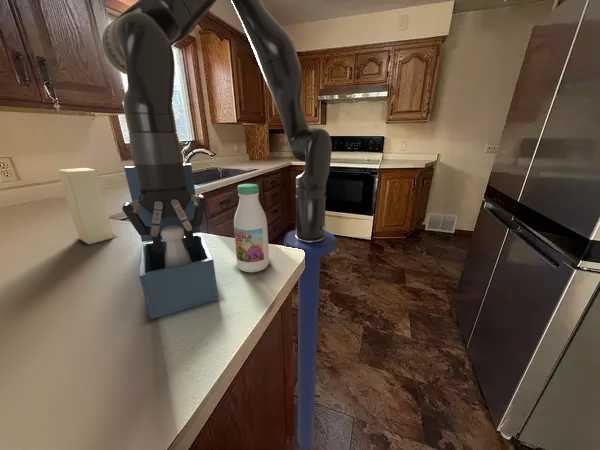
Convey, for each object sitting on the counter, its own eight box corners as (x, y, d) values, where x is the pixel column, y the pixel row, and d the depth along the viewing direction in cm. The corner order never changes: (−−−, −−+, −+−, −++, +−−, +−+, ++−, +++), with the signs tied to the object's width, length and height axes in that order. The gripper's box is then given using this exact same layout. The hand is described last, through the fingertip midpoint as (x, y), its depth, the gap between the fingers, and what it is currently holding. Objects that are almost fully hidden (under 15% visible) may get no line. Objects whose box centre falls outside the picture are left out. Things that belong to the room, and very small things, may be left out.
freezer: (218, 299, 48) (213, 259, 45) (150, 319, 42) (139, 276, 39) (205, 266, 60) (200, 233, 57) (151, 279, 54) (142, 243, 51)
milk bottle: (248, 255, 65) (242, 181, 58) (274, 260, 63) (271, 183, 56) (231, 269, 58) (222, 187, 52) (259, 275, 56) (254, 189, 49)
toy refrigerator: (117, 236, 77) (99, 169, 70) (88, 244, 71) (65, 172, 64) (106, 231, 81) (88, 167, 74) (78, 238, 75) (56, 169, 68)
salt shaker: (183, 275, 54) (173, 220, 50) (203, 280, 53) (194, 224, 48) (160, 289, 49) (147, 230, 45) (182, 296, 47) (170, 234, 43)
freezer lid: (191, 164, 50) (188, 160, 55) (123, 167, 45) (126, 163, 49) (200, 232, 56) (197, 224, 61) (141, 242, 51) (142, 232, 55)
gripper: (199, 157, 49) (209, 236, 54) (111, 160, 42) (134, 250, 48) (205, 160, 42) (216, 249, 48) (104, 164, 36) (131, 267, 42)
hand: (175, 249), depth 48 cm, fingers closed on salt shaker, 4 cm apart
